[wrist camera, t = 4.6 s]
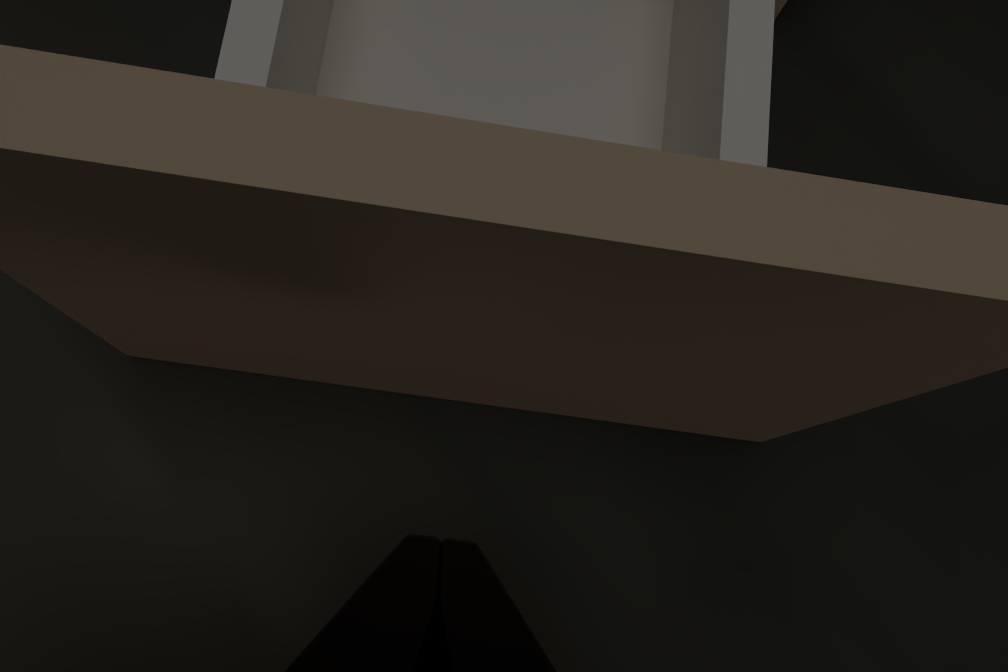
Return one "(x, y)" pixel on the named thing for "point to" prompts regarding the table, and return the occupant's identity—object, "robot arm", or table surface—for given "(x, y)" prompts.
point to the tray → (492, 217)
